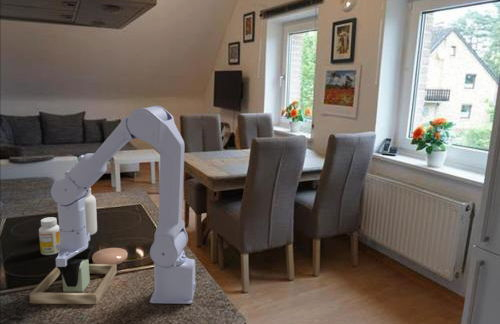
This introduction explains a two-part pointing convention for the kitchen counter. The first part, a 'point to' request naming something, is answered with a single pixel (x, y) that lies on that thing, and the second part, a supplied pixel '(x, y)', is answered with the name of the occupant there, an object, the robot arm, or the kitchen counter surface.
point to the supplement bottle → (49, 236)
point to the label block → (79, 278)
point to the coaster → (109, 256)
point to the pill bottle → (90, 213)
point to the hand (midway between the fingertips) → (76, 280)
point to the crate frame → (73, 298)
